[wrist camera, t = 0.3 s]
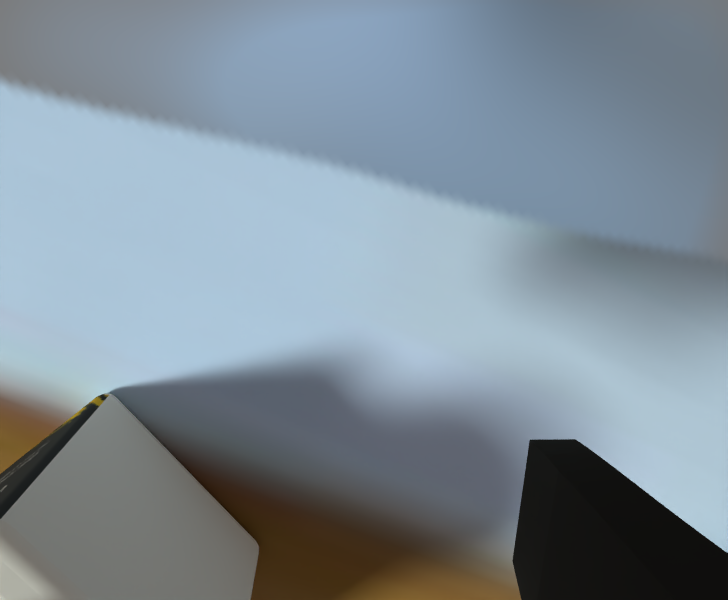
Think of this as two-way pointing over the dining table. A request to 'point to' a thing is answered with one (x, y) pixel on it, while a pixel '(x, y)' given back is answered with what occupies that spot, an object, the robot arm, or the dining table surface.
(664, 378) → the dining table surface
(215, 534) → the medicine bottle
